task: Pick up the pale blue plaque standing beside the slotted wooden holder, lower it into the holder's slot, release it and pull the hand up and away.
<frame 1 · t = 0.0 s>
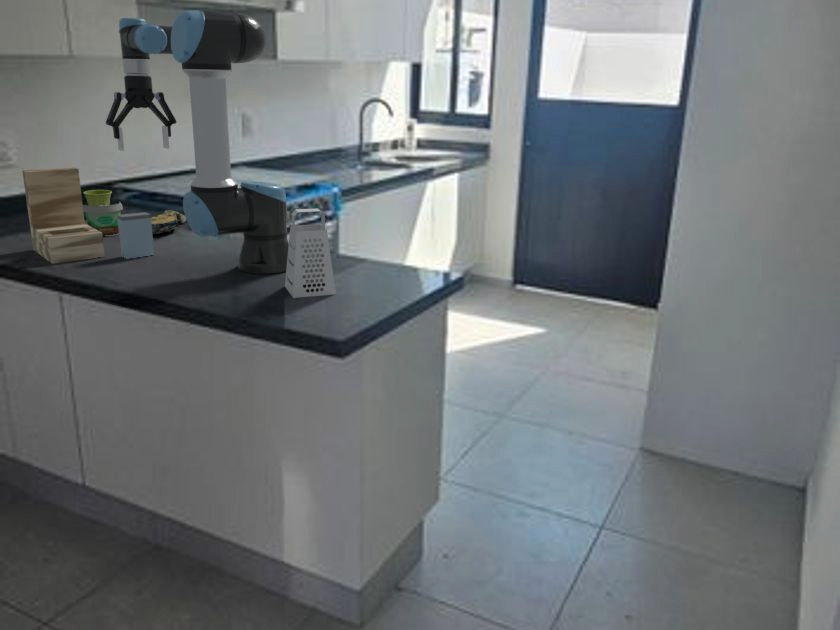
hand: (144, 149, 227), 28 cm above the countertop, fingers open, 13 cm apart
grater: (310, 291, 188), on the countertop
plant pot: (100, 216, 272), on the countertop
food container: (108, 236, 242), on the countertop
slotted wooden holder: (68, 253, 218), on the countertop
yellow piece: (164, 230, 253), on the countertop
pale blue plaque: (138, 256, 217), on the countertop
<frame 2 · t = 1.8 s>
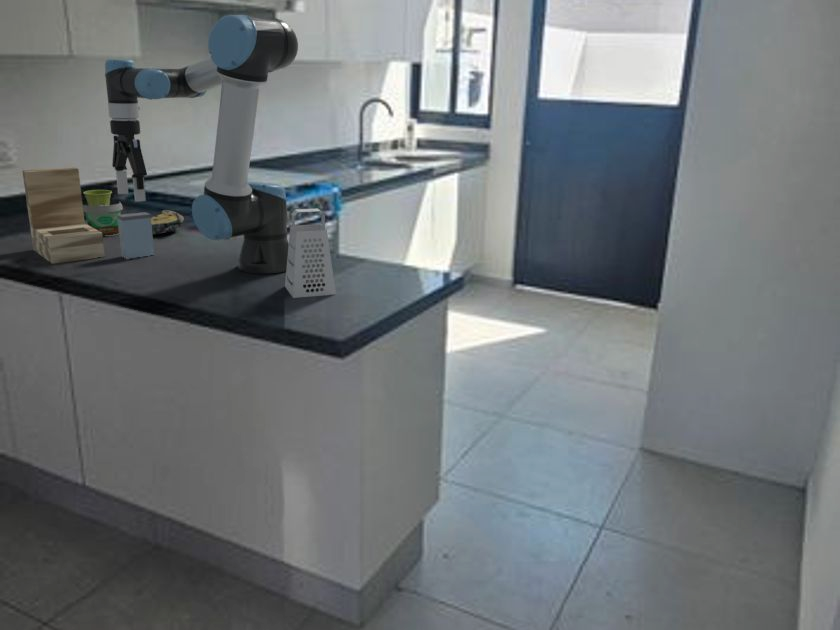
hand: (131, 197, 212), 17 cm above the countertop, fingers open, 13 cm apart
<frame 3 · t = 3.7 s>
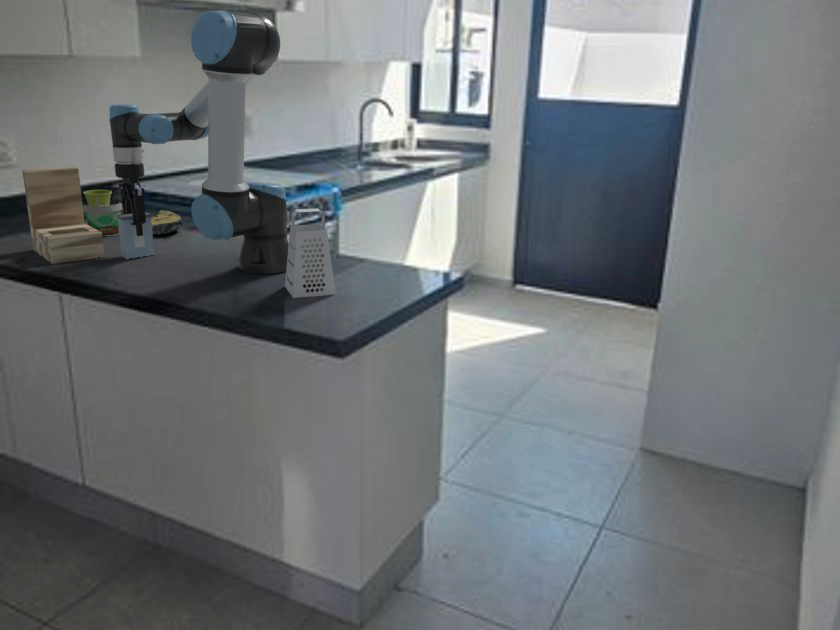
hand: (136, 245, 216), 3 cm above the countertop, fingers closed on pale blue plaque, 4 cm apart
pale blue plaque: (138, 256, 217), on the countertop, touching gripper
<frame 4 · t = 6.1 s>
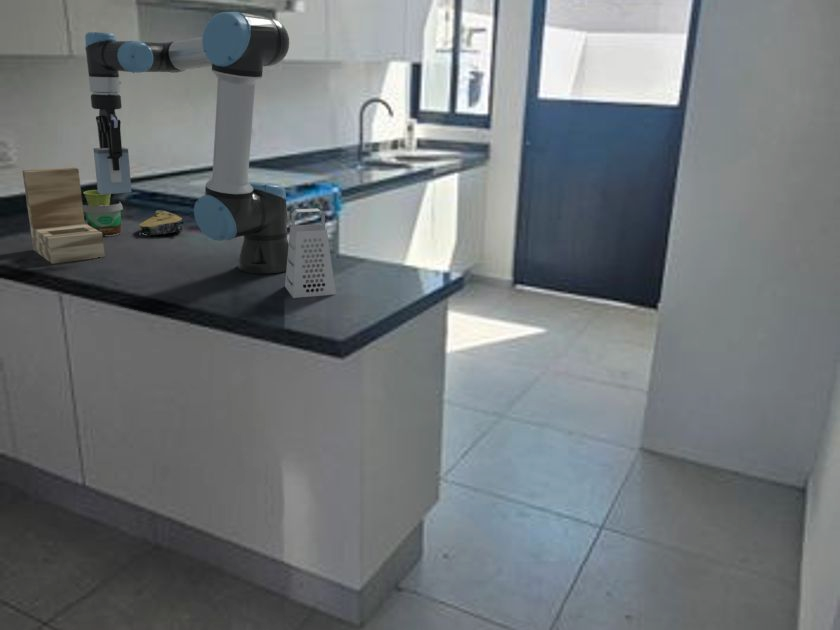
hand: (113, 180, 211), 21 cm above the countertop, fingers closed on pale blue plaque, 4 cm apart
pale blue plaque: (114, 192, 212), point 18 cm above the countertop, touching gripper
when the fingers open (9 cm above the countertop, at t = 8.8 s): pale blue plaque drops 1 cm, resting on slotted wooden holder.
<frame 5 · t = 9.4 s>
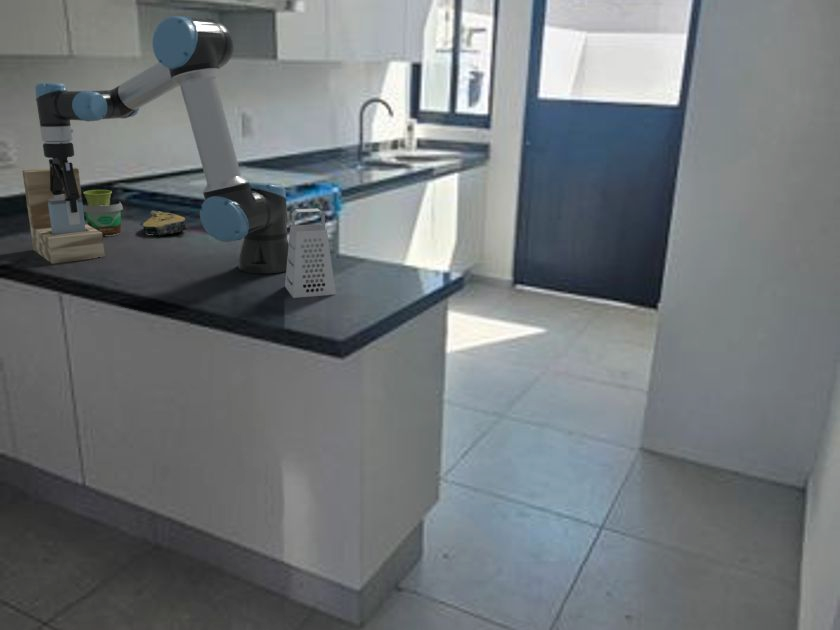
hand: (68, 220, 212), 10 cm above the countertop, fingers open, 12 cm apart
pale blue plaque: (70, 240, 215), point 4 cm above the countertop, touching slotted wooden holder
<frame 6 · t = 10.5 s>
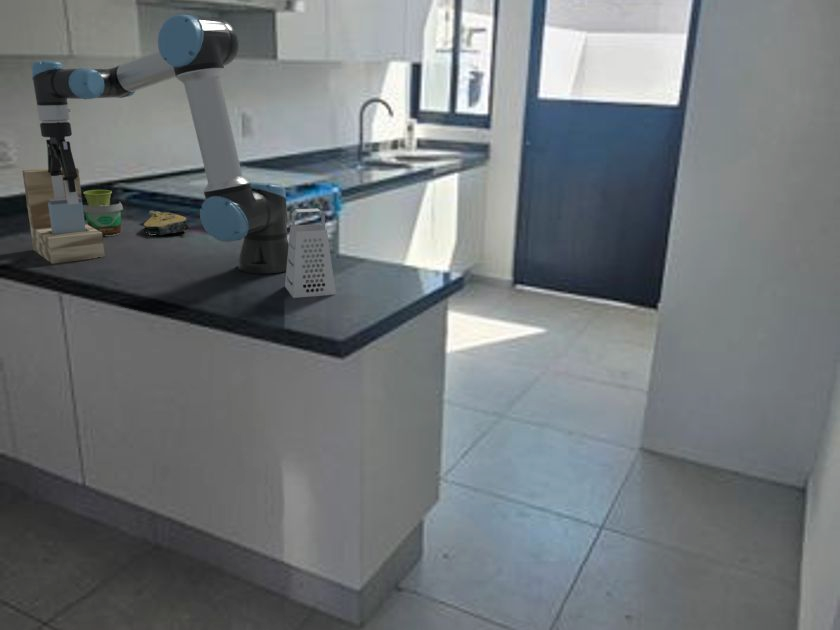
hand: (66, 201, 211), 16 cm above the countertop, fingers open, 12 cm apart
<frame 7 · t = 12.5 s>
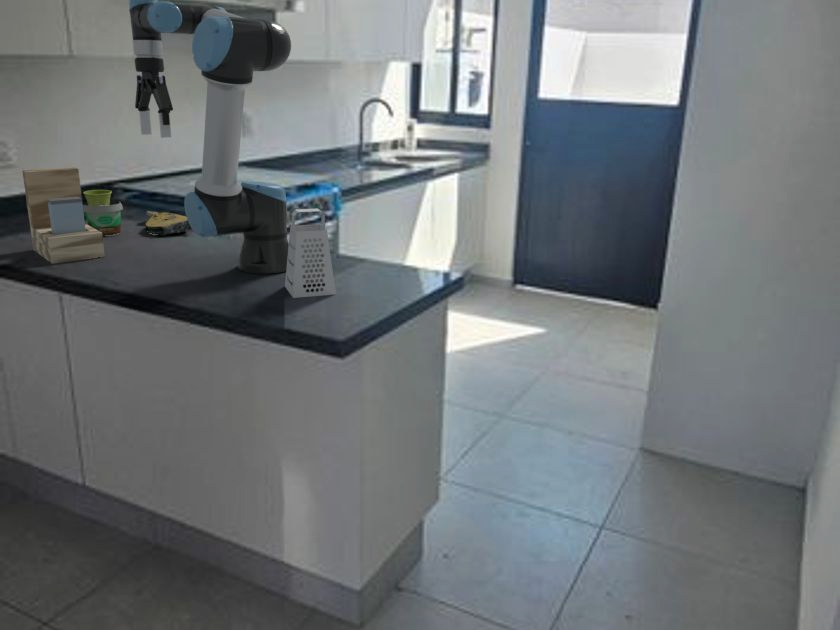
hand: (156, 136, 215), 33 cm above the countertop, fingers open, 13 cm apart
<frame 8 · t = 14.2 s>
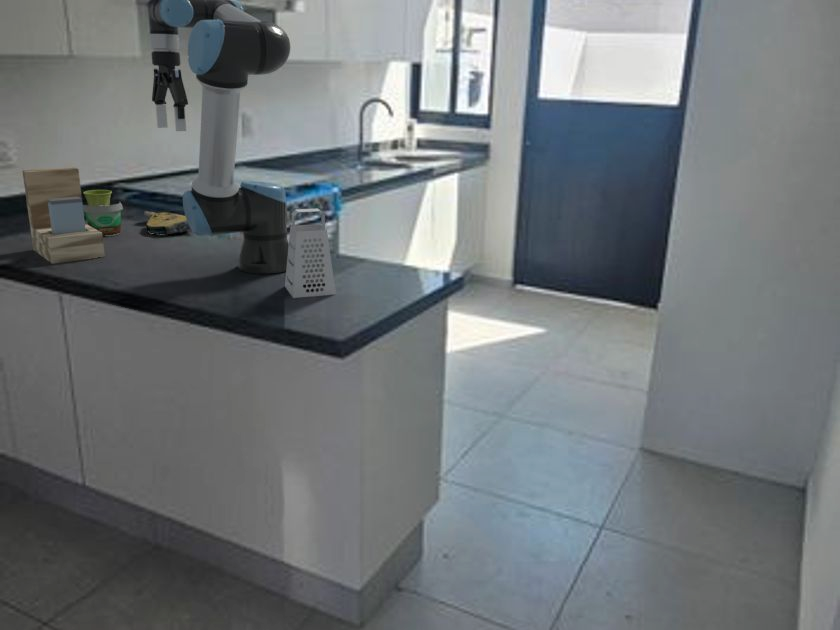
hand: (171, 129, 217), 35 cm above the countertop, fingers open, 13 cm apart
at the end: pale blue plaque 0.1 cm from the target spot on the slotted wooden holder, point 4.2 cm above the slotted wooden holder's base; pale blue plaque tilted 0°; the gripper is holding nothing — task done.
